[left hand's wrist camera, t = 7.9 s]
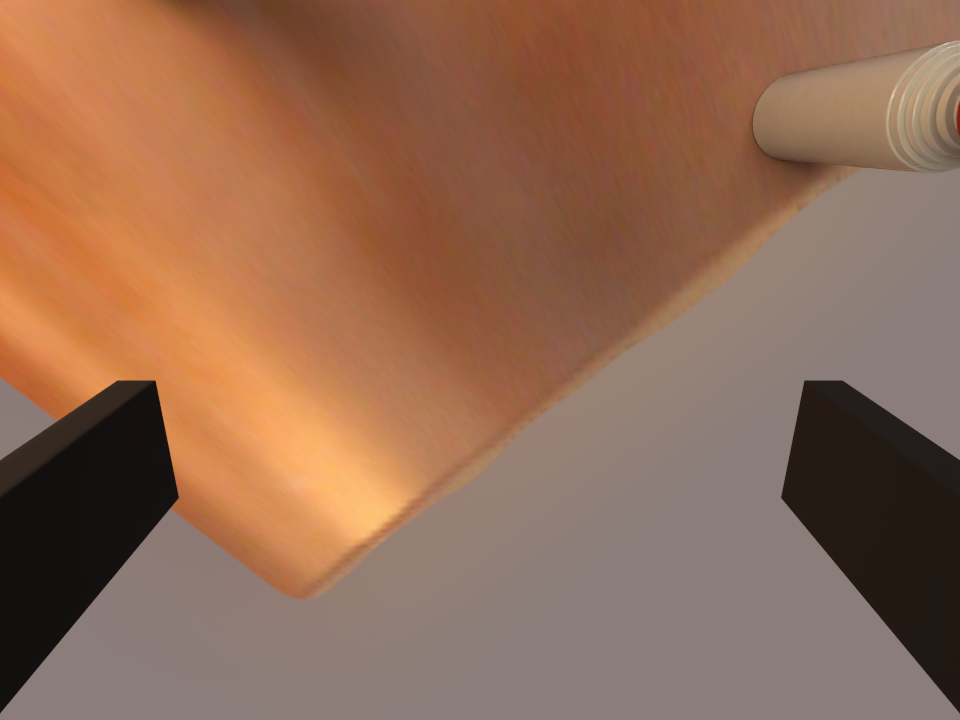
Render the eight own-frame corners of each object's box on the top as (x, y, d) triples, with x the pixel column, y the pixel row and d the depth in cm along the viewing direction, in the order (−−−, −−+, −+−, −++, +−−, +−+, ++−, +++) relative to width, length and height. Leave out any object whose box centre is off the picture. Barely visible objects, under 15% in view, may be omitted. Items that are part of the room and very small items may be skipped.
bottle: (794, 53, 35) (1074, -20, 19) (853, 106, 36) (1169, 83, 20) (734, 127, 37) (945, 121, 20) (793, 177, 38) (1040, 210, 21)
